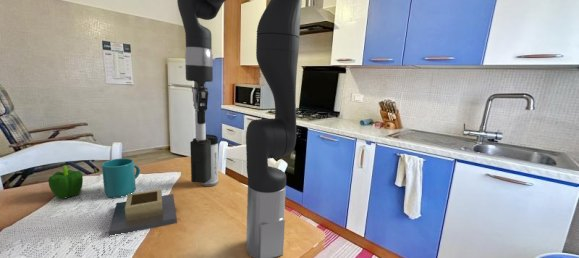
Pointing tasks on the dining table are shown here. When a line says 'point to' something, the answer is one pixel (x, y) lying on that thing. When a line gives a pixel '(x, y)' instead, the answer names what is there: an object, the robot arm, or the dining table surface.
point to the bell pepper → (66, 183)
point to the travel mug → (213, 161)
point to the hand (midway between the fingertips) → (200, 122)
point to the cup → (119, 177)
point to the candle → (200, 154)
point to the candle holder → (143, 212)
